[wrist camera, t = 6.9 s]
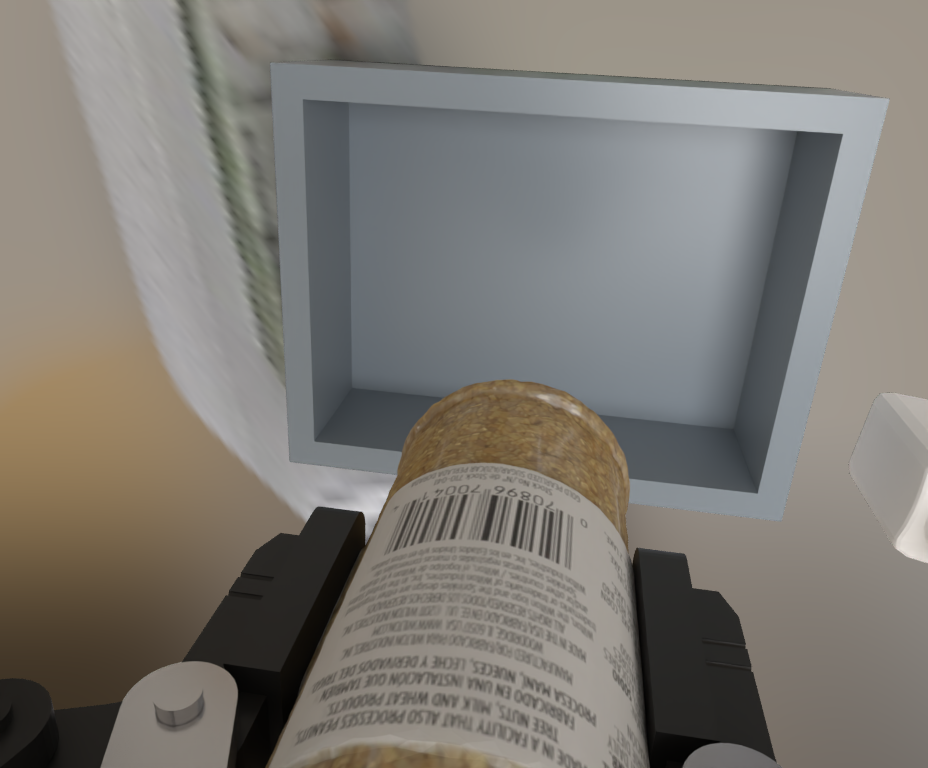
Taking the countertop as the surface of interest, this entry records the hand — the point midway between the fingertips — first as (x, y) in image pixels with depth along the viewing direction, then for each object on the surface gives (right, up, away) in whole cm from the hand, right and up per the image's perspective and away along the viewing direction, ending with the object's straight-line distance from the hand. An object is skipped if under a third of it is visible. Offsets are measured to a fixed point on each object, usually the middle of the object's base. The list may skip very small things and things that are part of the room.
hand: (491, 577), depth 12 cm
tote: (+3, +8, +19) cm, 20 cm away
